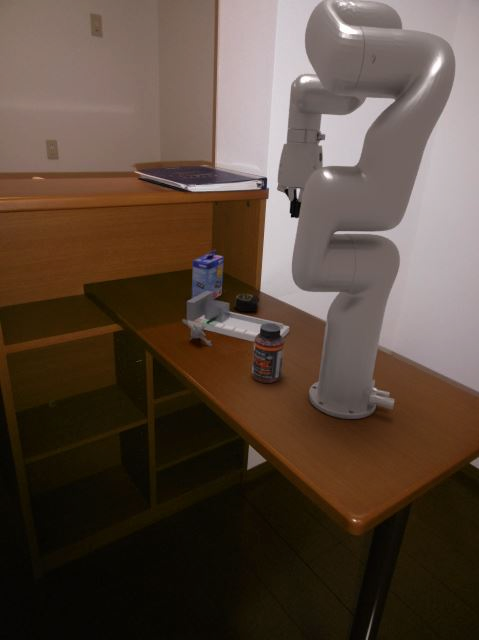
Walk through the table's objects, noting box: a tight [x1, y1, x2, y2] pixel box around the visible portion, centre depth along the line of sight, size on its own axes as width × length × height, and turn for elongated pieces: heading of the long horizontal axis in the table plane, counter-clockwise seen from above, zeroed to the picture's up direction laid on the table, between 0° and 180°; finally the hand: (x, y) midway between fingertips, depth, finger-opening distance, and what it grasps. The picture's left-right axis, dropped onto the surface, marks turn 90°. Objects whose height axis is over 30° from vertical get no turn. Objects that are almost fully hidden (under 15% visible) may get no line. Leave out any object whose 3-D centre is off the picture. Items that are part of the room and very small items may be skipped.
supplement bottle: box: [251, 323, 285, 384], centre depth 91 cm, size 6×6×11 cm
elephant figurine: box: [181, 318, 213, 347], centre depth 107 cm, size 9×6×8 cm
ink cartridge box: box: [191, 249, 225, 300], centre depth 133 cm, size 10×6×14 cm, turn 155°
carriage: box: [205, 299, 230, 323], centre depth 116 cm, size 5×7×4 cm
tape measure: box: [233, 293, 260, 312], centre depth 128 cm, size 7×7×4 cm
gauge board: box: [186, 291, 290, 343], centre depth 114 cm, size 24×10×6 cm, turn 64°
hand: (295, 217), depth 114 cm, fingers closed
